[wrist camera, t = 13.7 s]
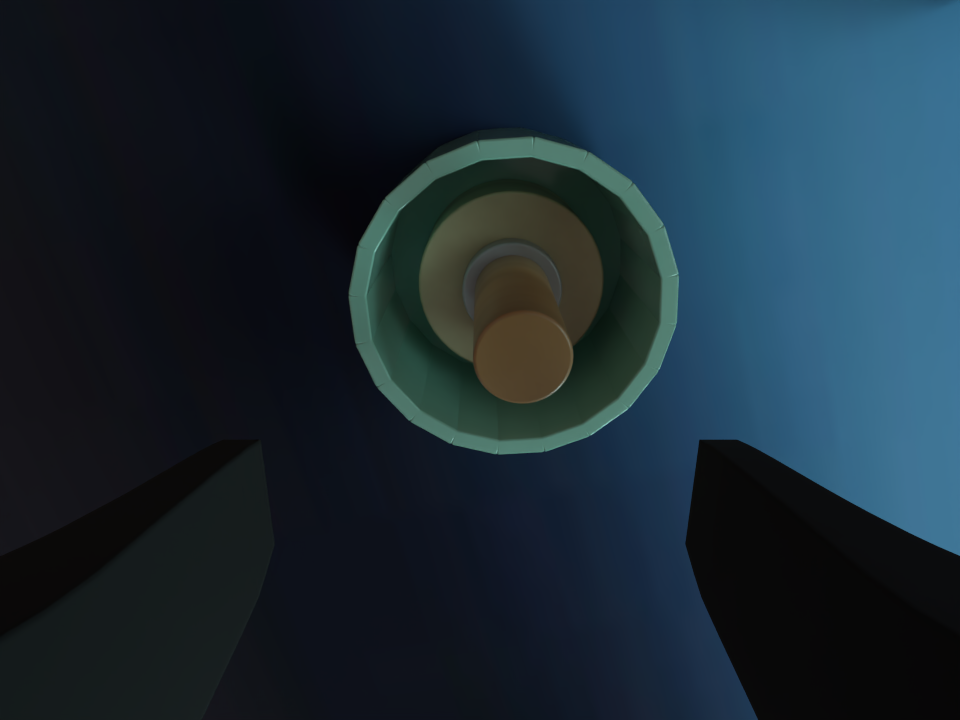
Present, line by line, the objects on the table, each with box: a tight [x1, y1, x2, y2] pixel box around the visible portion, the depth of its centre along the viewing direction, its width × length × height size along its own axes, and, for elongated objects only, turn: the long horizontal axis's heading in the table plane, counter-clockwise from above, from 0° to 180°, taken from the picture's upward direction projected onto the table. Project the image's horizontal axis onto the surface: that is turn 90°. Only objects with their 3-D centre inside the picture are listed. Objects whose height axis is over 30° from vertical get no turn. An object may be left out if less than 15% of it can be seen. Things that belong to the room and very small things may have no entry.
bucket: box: [348, 128, 679, 454], centre depth 17 cm, size 7×7×5 cm
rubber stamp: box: [419, 179, 604, 404], centre depth 15 cm, size 5×5×8 cm
